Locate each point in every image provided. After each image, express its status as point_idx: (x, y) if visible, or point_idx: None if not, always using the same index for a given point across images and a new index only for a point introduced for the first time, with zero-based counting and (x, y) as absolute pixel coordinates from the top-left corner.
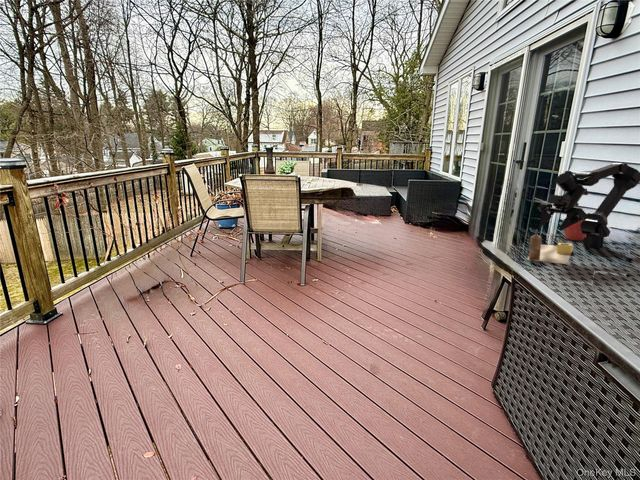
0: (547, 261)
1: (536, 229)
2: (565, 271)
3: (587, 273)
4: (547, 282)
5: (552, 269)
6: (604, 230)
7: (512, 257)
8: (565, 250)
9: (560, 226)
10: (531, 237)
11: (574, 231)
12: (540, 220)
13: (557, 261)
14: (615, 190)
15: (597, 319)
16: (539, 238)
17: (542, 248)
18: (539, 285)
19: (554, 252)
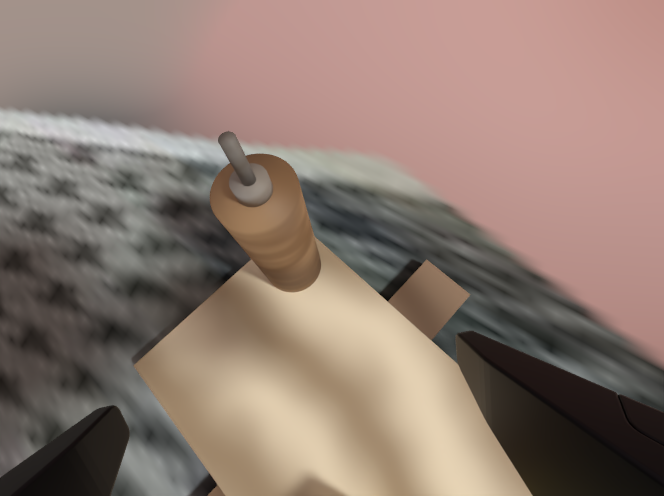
0: (218, 295)
1: (225, 135)
2: (93, 302)
3: (13, 383)
4: (49, 156)
5: (145, 266)
6: None
7: (388, 204)
8: None
9: (72, 441)
10: (261, 154)
11: None
12: (552, 368)
13: (192, 347)
14: None
15: None
16: (212, 197)
17: (501, 480)
18: (47, 120)
19: (370, 487)
